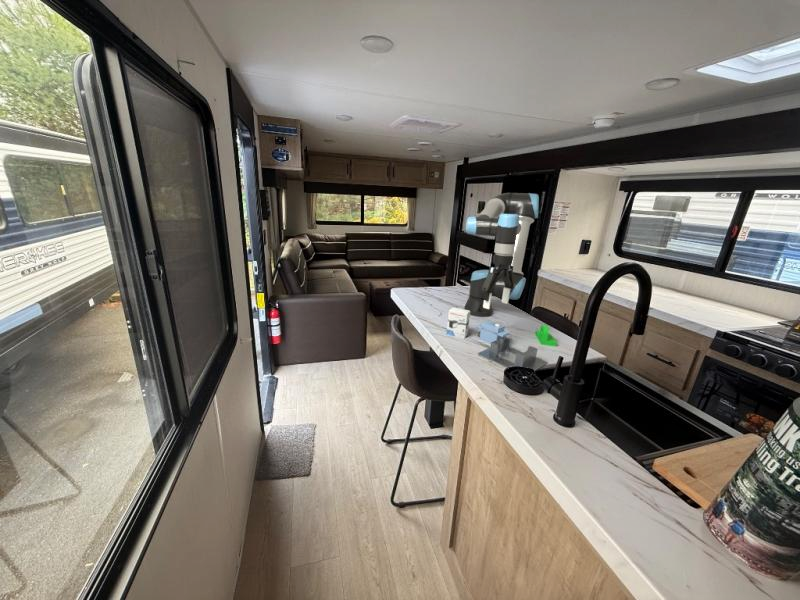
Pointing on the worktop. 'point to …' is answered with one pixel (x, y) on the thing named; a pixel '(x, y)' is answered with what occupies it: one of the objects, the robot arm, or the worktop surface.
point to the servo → (491, 331)
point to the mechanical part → (545, 336)
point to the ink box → (458, 322)
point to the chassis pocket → (512, 355)
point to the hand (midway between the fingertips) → (495, 305)
